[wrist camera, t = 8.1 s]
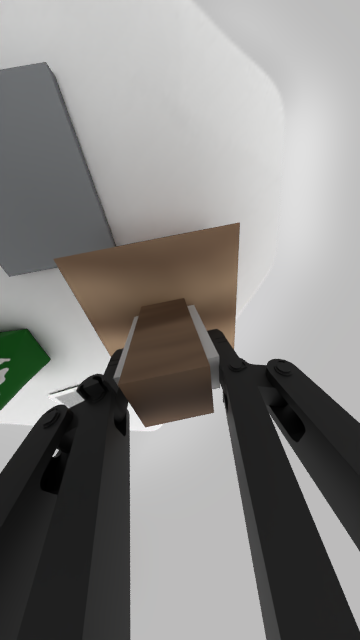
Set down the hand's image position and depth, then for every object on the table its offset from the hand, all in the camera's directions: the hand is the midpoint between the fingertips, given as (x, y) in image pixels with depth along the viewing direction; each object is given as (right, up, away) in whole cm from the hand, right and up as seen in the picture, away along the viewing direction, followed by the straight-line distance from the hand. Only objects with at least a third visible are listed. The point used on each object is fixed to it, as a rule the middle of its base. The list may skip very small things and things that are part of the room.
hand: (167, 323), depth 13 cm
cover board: (0, +1, +1) cm, 2 cm away
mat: (-15, +14, +2) cm, 20 cm away
